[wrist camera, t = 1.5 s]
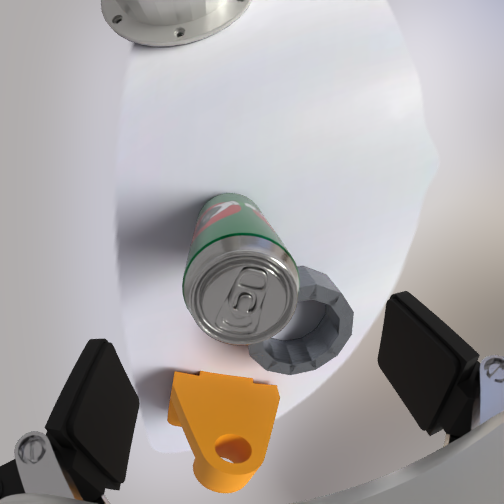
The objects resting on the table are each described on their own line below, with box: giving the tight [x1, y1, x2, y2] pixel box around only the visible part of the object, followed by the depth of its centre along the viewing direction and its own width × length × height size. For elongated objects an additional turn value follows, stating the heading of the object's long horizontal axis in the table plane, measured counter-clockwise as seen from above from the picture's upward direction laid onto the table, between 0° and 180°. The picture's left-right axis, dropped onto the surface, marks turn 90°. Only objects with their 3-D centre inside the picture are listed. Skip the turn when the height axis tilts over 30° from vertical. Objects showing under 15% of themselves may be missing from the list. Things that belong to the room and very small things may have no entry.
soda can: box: [182, 193, 300, 345], centre depth 17 cm, size 5×5×12 cm
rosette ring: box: [248, 266, 354, 375], centre depth 24 cm, size 9×9×4 cm
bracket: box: [167, 371, 280, 493], centre depth 23 cm, size 11×7×12 cm, turn 74°
